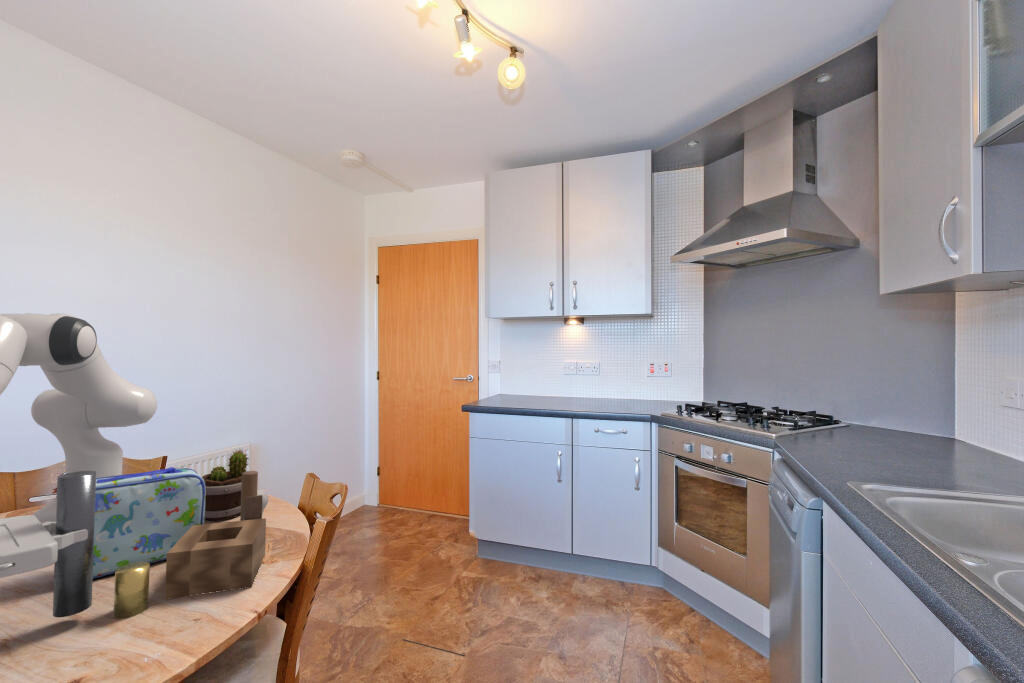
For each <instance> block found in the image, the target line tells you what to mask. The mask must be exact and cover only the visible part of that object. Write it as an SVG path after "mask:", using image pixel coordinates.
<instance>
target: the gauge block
mask: <svg viewBox="0 0 1024 683" xmlns="http://www.w3.org/2000/svg"><path fill="white" fill-rule="evenodd" d="M266 528H267V518H262V519H254V520H244V521H240V520H236V521H226V522H225V521H224V522H214V523H204V524H203V525H193V526H192V527H191V528H190V529H189V530H188V531H187V532H186V533H185V534H184V535H183V536H182V537H181V539H180V540H179V541H178V542H177V543H176V544H175V545H174V546H173V547H172V548H171V549H170V550H169V552H168V553H167V559H166V560H165V561H166V563H165V564H166V566H165V593H164V594H165V595H164V600H170V599H171V600H172V599H178V598H179V599H180V598H186V597H185V596H187V597H191V596H190V595H194V596H197V595H196V594H201V595H203V594H202V593H208V594H210V593H209V592H215V593H217V592H216V591H222V592H224V591H223V590H229V591H232V590H231V589H236V590H240V589H239V588H243V589H248V588H247V587H250V588H252V587H253V585H252V584H254V583H253V582H255V580H256V578H257V576H256V575H258V573H259V571H260V569H261V566H262V564H263V562H264V560H263V558H264V559H265V557H266V538H267V537H266V532H267V529H266ZM264 556H265V557H264ZM262 561H263V562H262ZM261 563H262V564H261ZM259 568H260V569H259ZM258 570H259V571H258ZM255 577H256V578H255ZM254 579H255V580H254ZM245 587H246V588H245Z"/></svg>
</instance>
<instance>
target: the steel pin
mask: <svg viewBox="0 0 1024 683" xmlns="http://www.w3.org/2000/svg"><path fill="white" fill-rule="evenodd" d="M56 480H57V482H56V488H57V492H56V496H57V505H56V534H55V536H56V535H64V534H67V533H70V532H72V530H77V529H81V528H85V529H86V530H87V531H88V538H87V539H86V540H83V541H79V542H75V543H73V544H71V545H69V546H67V547H65V548H62V549H59V550H58V555H57V562H56V563H54V564H53V566H54V567H53V595H52V596H53V598H52V616H53V617H54V618H66V617H71V616H76V615H77V614H80V613H82V612H84V611H86V610H87V609H89V608H90V607H91V606H92V604H93V602H92V601H93V580H94V579H93V551H94V521H95V491H96V472H95V471H80V472H73V473H67V474H66V473H64V474H60V475H58V476H57V479H56Z"/></svg>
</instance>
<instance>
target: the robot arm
mask: <svg viewBox="0 0 1024 683" xmlns="http://www.w3.org/2000/svg"><path fill="white" fill-rule="evenodd" d="M97 342H98V339H97V333H96V330H95V328H94V327H93V326H92V325H91V324H90V323H89V322H88V321H86V320H85V319H81V318H80V317H79V318H78V317H76V316H74V315H71V314H68V313H51V314H44V313H43V314H41V313H30V312H29V313H27V312H26V313H0V396H1V395H2V394H3V393H4V392H5V390H6V389H7V388H8V385H9V384H10V383H11V381H12V380H13V378H14V375H15V373H16V371H17V370H18V368H19V367H27V366H28V367H29V366H31V367H32V366H35V367H36V366H39V367H40V368H41V370H42V372H43V374H44V375H45V377H46V378H47V381H48V382H49V383H50V386H51V387H53V389H48V390H44V391H42V392H40V394H38V395H37V396H36V397H35V399H33V402H32V404H31V407H30V408H31V409H30V411H31V416H32V419H33V421H34V422H35V423H36V425H38V426H40V427H42V428H44V429H45V430H47V431H49V432H50V433H51V434H52V435H53V436H54V437H55V438H56V439H57V441H58V442H59V444H60V445H61V447H62V450H63V452H64V457H65V458H64V459H65V474H67V473H73V472H80V471H95V472H96V478H102V477H109V476H117V475H123V461H124V460H123V458H124V457H123V456H124V450H123V448H122V447H121V446H120V445H119V444H118V443H117V442H114V441H113V440H109V439H107V438H105V437H104V436H103V435H102V434H101V432H100V429H101V428H102V429H103V428H104V429H105V428H126V427H132V426H137V425H143V424H145V423H146V424H147V423H148V422H150V420H151V419H152V418H153V417H154V415H155V414H156V412H157V408H158V400H157V398H156V395H155V394H154V393H153V392H152V391H151V390H150V389H148V388H144V387H141V386H139V385H136V384H134V383H132V382H130V381H128V380H127V379H125V378H123V377H122V376H120V375H119V374H118V373H117V372H115V371H114V370H113V369H112V368H111V367H110V364H108V362H107V360H106V358H105V357H104V355H103V353H102V351H101V348H100V347H99V344H98V343H97ZM99 428H100V429H99ZM52 491H53V492H51V493H52V494H51V495H53V494H57V487H55V488H53V489H52ZM56 505H57V495H56V497H55V498H54V499H53V500H51V501H50V502H48V503H47V504H45V505H44V506H42V507H41V508H40V509H38V510H37V511H35V512H34V513H32V514H31V515H30V514H26V515H18V516H10V517H5V518H0V579H1V578H6V577H11V576H16V575H20V574H24V573H25V574H26V573H29V572H33V571H36V570H37V571H38V570H42V569H44V568H47V567H50V566H52V565H54V563H56V562H57V555H58V550H59V549H62V548H65V547H67V546H69V545H71V544H73V543H75V542H79V541H83V540H86V539H87V538H88V531H87V530H86V529H85V528H81V529H77V530H72V532H70V533H67V534H64V535H56V536H55V534H56Z"/></svg>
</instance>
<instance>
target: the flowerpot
mask: <svg viewBox="0 0 1024 683" xmlns="http://www.w3.org/2000/svg"><path fill="white" fill-rule="evenodd" d="M247 455H248V453H246V452H245V451H244V448H242V449H241V447H239V448H238V449H237V448H235V450H233V451H232V453H231V454H229V457H227V459H226V461H227V464H225V466H224V465H215V467H214V466H213V467H210V468H211V469H210V471H209V472H210V473H208V474H204V475H201V477H202V478H203V480H204V482H205V487H206V496H205V516H204V520H208V521H211V522H213V521H217V522H218V521H226V520H230V519H233V518H236V517H238V516H241V486H242V473H244V472H247V468H248V466H250V464H249V463H248V461H250V460H249V459H250V456H247ZM226 467H227V469H226Z"/></svg>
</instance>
